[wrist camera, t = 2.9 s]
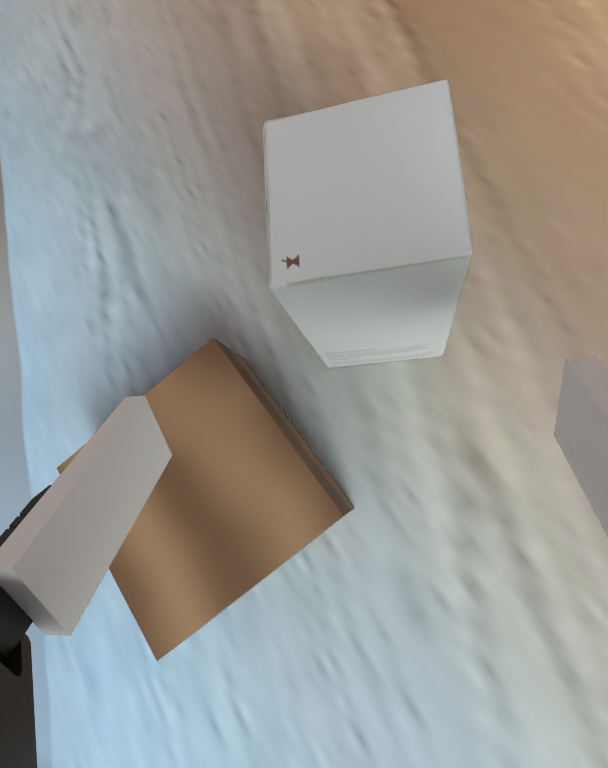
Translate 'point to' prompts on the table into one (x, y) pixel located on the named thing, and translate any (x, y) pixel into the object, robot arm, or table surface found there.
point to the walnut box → (218, 498)
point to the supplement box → (368, 224)
